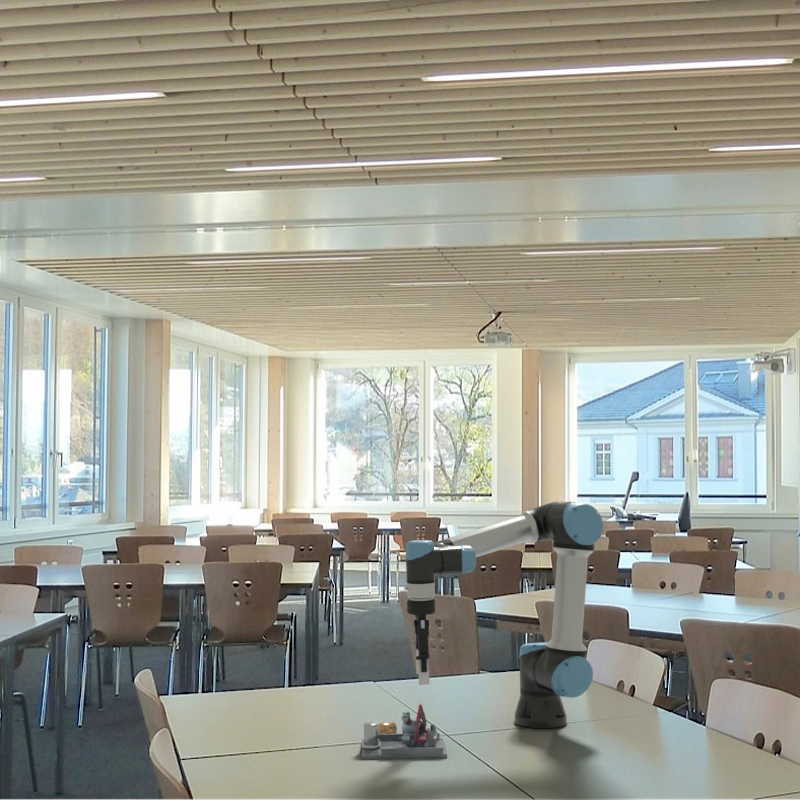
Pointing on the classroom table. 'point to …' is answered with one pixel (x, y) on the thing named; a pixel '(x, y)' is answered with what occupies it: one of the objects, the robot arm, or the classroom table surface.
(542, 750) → the classroom table surface
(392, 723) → the golden brown rounded block
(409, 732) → the brake caliper
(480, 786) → the classroom table surface
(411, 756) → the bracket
